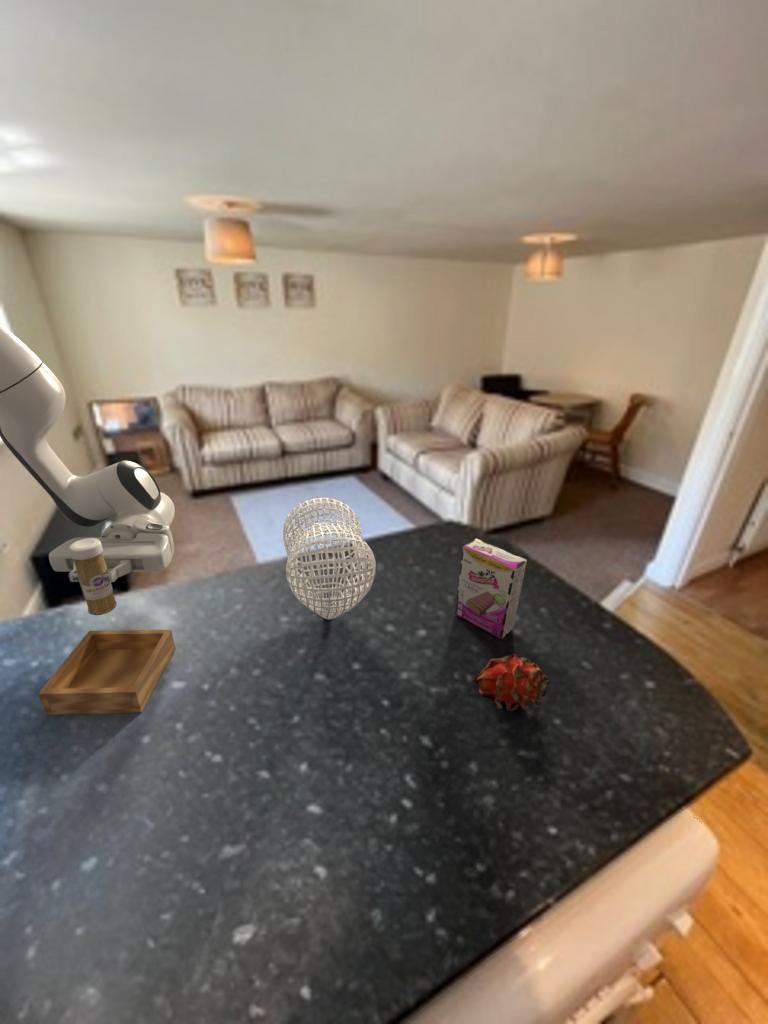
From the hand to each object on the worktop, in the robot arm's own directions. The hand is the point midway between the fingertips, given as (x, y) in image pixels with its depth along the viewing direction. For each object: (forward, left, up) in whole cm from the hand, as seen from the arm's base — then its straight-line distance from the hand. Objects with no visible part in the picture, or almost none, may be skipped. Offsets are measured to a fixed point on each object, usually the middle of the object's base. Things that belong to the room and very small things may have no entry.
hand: (91, 578), depth 77 cm
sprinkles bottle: (0, +1, -7) cm, 7 cm away
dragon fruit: (+70, -16, -13) cm, 73 cm away
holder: (+6, -10, -13) cm, 18 cm away
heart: (+40, +6, -13) cm, 43 cm away
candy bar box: (+71, +3, -13) cm, 72 cm away
